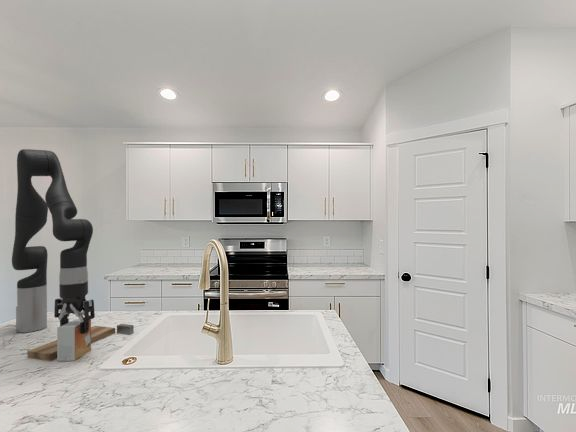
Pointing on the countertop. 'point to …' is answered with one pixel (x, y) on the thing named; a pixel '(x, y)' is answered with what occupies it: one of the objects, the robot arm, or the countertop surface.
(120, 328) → the block
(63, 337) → the small box
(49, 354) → the plank
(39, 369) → the countertop surface
